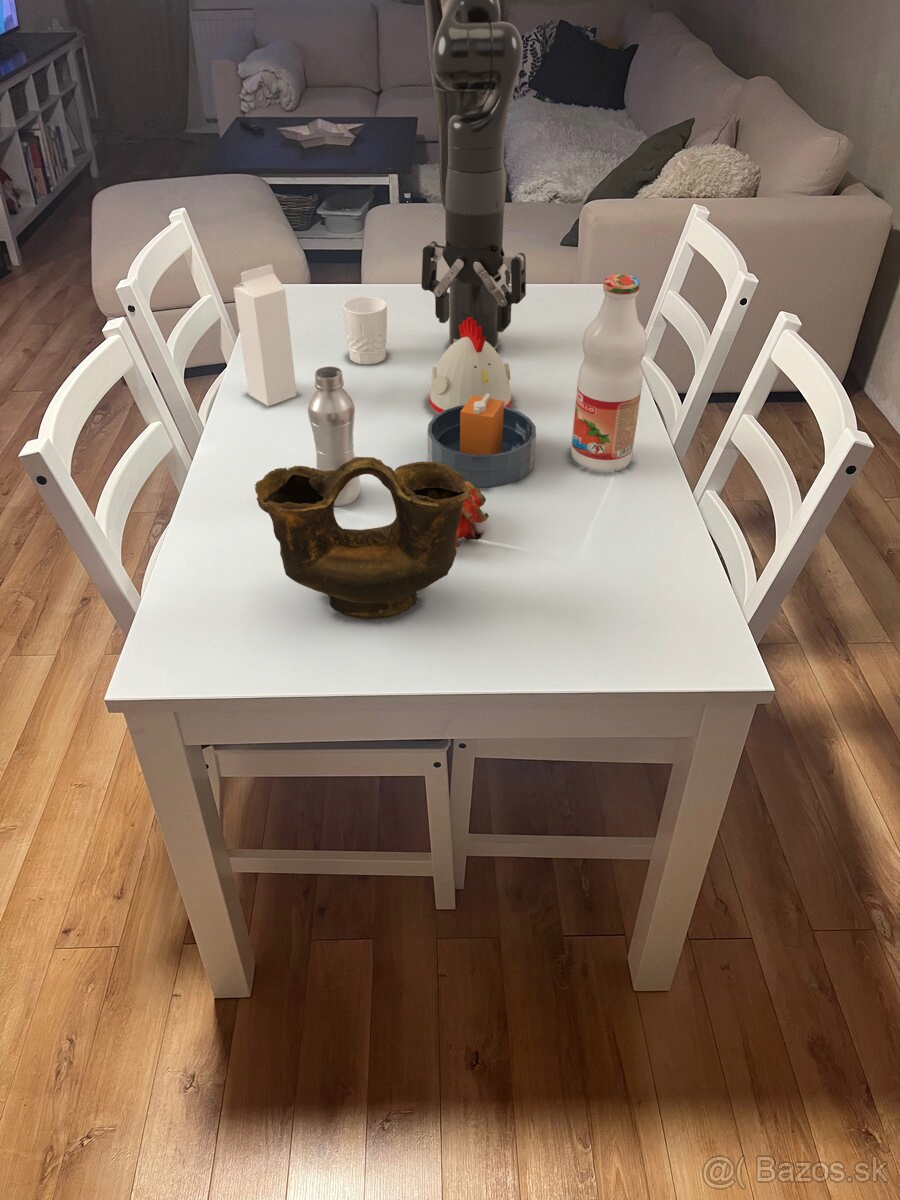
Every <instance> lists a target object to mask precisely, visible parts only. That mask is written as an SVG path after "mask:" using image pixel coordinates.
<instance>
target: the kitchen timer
mask: <svg viewBox="0 0 900 1200" xmlns="http://www.w3.org/2000/svg"><path fill="white" fill-rule="evenodd" d="M459 329H460V336H461V339H459V340H457V341H456V342H454V343H453V344H452V345H451V346H450V347H449V346H448V348H447V349H446V350H445V352H444V353H443V355H442V356H441V357H440V359H439V361H438V363H437V365H436V366H432V370H431V379H430V381H431V382H430V387H429V404H430V406H431V408H432V409H433V410H435V411H436V412H437V413H438V414H439V413H441V412H443V411H444V410H447V409H450V408H453V407H457V406H461V405H466V404H467V402H468V401H469V400H470V398H471V397H472V396H478V397H484V396H485V395H486V394H490V399H496V400H502V401H504V407H508V408H510V407H511V404H512V390H511V384H510V381H511V378H512V377H511V370H510V369H511V368H510V365H509V363H508V362H505V363H504V361H503V359H502V358H501V356H500V354H499V353H498V352H497V351H495V349H494V348H493V347H492V346H491V345H490V344H489V343H488V342H486V341H485V337H482V326H478V327H477V321H473V317H469V318H467V320H465V321H463V324H459Z"/></svg>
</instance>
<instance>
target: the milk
mask: <svg viewBox="0 0 900 1200" xmlns="http://www.w3.org/2000/svg"><path fill="white" fill-rule="evenodd" d="M240 278H241V282H240V283H239V284H236V285H235V286H233V293H234V301H235V309H236V316H237V322H238V329H239V335H240V343H241V349H242V356H243V363H244V370H245V378H246V384H247V391H248V395H249V396H250V397H251V398H254V399H255V400H256V401H258V402H260V403H261V404H263V405H264V406H267V407H271V406H273V405H276V404H279V403H282V402H284V401H287V400H290V399H292V398H295V397H296V396H298V395H297V386H296V376H295V366H294V359H293V350H292V340H291V339H292V338H291V329H290V322H289V311H288V304H287V302H288V301H287V294H286V288H285V286H284V285H283V284H282V283H281V281H280V280H279V278H278V276H276V274H275V272H274V266H273V264H271V263H269V264H267V265H263V266H258V267H256V268H253V269H249V270H245V271H243V272H241V273H240Z"/></svg>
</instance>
